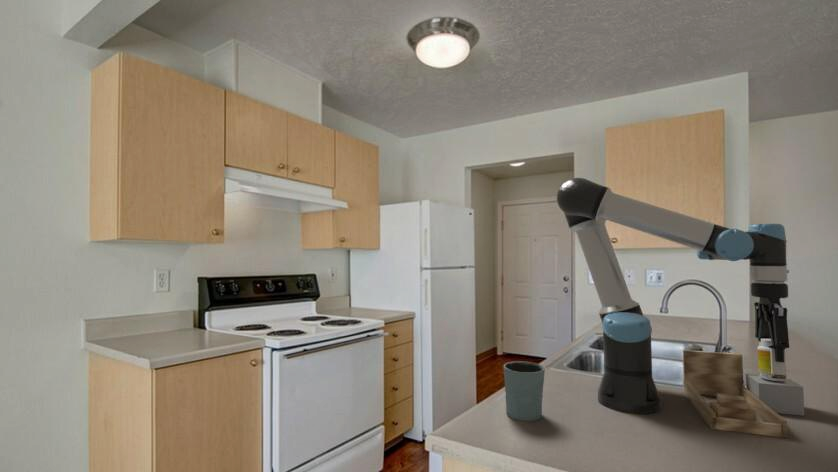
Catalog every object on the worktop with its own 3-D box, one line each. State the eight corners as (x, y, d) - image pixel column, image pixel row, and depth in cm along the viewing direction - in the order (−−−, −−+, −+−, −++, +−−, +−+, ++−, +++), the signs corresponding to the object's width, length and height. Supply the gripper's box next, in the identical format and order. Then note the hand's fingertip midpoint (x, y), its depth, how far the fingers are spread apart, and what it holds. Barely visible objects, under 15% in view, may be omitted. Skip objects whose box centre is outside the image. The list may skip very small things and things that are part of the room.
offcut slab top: (718, 418, 97) (717, 407, 97) (710, 412, 101) (710, 401, 101) (756, 421, 95) (756, 410, 95) (747, 415, 99) (746, 404, 99)
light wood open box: (711, 428, 96) (709, 375, 97) (684, 391, 122) (682, 349, 123) (787, 438, 91) (785, 381, 92) (742, 397, 117) (740, 353, 117)
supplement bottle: (775, 382, 106) (772, 341, 107) (753, 377, 112) (751, 338, 113) (792, 381, 108) (789, 340, 109) (770, 376, 113) (767, 337, 114)
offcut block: (720, 406, 98) (720, 397, 98) (717, 402, 101) (716, 393, 101) (747, 409, 96) (746, 400, 96) (742, 404, 99) (742, 396, 99)
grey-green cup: (518, 404, 112) (517, 359, 113) (553, 414, 105) (552, 366, 106) (496, 414, 105) (495, 366, 106) (532, 426, 98) (531, 374, 98)
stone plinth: (759, 411, 107) (758, 383, 107) (746, 399, 115) (745, 373, 115) (804, 415, 103) (803, 387, 104) (787, 403, 112) (786, 377, 112)
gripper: (805, 285, 100) (809, 382, 99) (770, 280, 119) (774, 362, 117) (766, 284, 103) (770, 379, 102) (738, 279, 121) (741, 360, 120)
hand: (772, 370), depth 110 cm, fingers open, 7 cm apart
